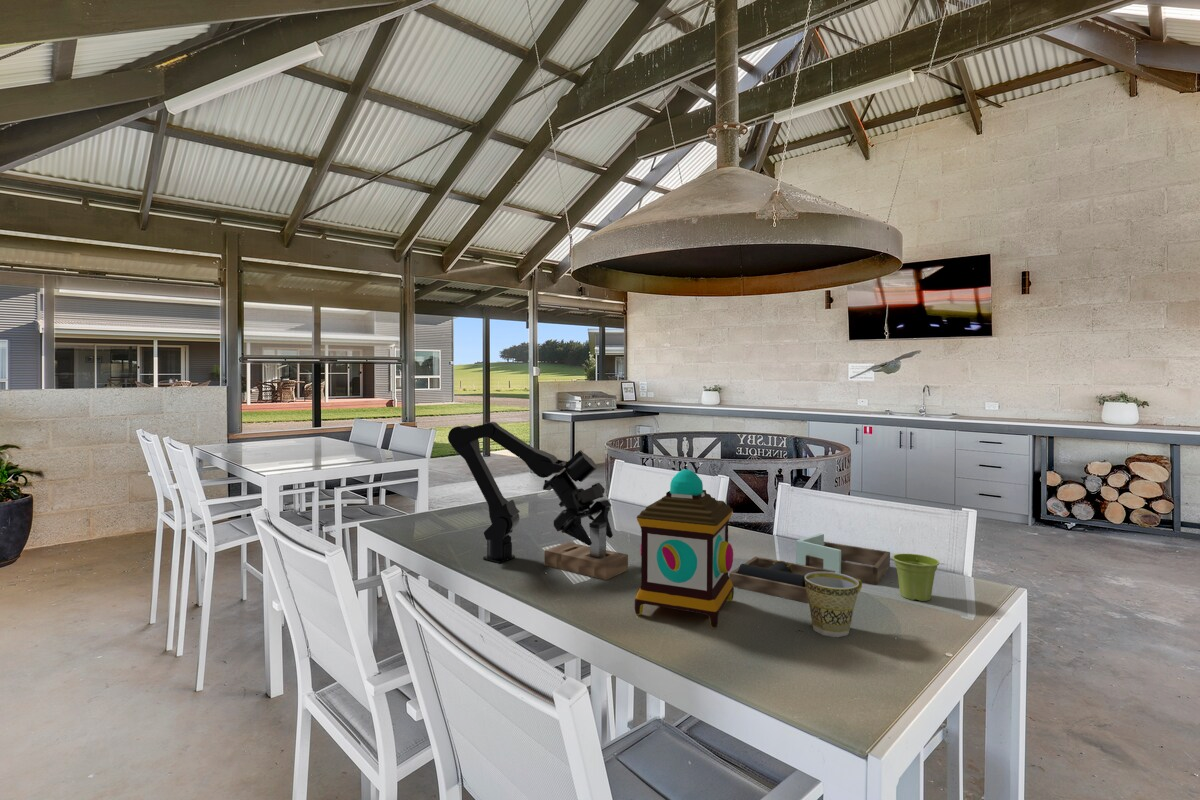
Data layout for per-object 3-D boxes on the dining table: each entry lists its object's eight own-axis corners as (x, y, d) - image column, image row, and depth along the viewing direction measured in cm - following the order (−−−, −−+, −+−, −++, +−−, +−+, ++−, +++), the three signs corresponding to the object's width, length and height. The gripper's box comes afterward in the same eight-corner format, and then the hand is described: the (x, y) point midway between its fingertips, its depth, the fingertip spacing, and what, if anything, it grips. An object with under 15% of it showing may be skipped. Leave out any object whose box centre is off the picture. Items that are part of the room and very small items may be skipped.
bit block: (544, 565, 153) (544, 550, 153) (568, 556, 161) (568, 542, 161) (605, 580, 141) (605, 564, 141) (628, 569, 149) (628, 554, 149)
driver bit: (589, 570, 149) (589, 523, 148) (596, 567, 151) (596, 520, 151) (599, 573, 147) (599, 524, 146) (606, 570, 149) (606, 522, 149)
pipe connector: (755, 554, 147) (815, 564, 138) (755, 574, 147) (815, 586, 138) (737, 566, 138) (801, 578, 129) (737, 588, 138) (800, 601, 129)
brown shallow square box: (805, 571, 149) (805, 555, 149) (823, 555, 163) (823, 541, 162) (877, 584, 139) (877, 568, 139) (889, 566, 153) (890, 552, 152)
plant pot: (882, 592, 133) (883, 555, 133) (911, 587, 137) (911, 551, 137) (919, 607, 125) (919, 567, 125) (948, 600, 129) (949, 562, 128)
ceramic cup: (830, 645, 106) (831, 591, 106) (792, 624, 115) (793, 575, 115) (881, 633, 111) (882, 582, 111) (841, 614, 121) (841, 567, 120)
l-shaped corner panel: (839, 580, 143) (839, 550, 143) (795, 568, 152) (796, 540, 152) (862, 571, 150) (863, 542, 150) (820, 560, 160) (820, 533, 160)
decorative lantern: (741, 599, 129) (742, 466, 128) (722, 634, 111) (723, 479, 110) (656, 586, 137) (656, 461, 136) (625, 616, 119) (626, 472, 118)
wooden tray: (729, 585, 138) (729, 573, 138) (755, 567, 152) (755, 556, 151) (815, 604, 126) (815, 590, 126) (835, 583, 140) (835, 570, 140)
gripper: (562, 478, 143) (597, 529, 137) (605, 470, 158) (639, 515, 152) (538, 506, 148) (571, 556, 142) (583, 495, 163) (614, 540, 157)
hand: (601, 540), depth 148 cm, fingers open, 9 cm apart
